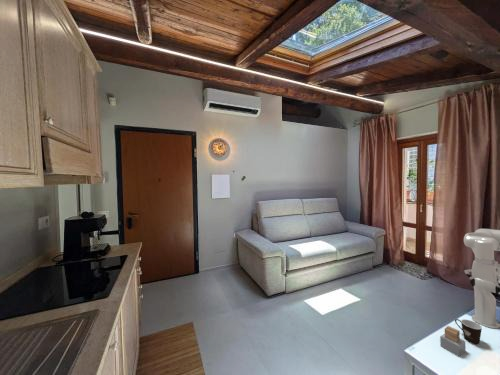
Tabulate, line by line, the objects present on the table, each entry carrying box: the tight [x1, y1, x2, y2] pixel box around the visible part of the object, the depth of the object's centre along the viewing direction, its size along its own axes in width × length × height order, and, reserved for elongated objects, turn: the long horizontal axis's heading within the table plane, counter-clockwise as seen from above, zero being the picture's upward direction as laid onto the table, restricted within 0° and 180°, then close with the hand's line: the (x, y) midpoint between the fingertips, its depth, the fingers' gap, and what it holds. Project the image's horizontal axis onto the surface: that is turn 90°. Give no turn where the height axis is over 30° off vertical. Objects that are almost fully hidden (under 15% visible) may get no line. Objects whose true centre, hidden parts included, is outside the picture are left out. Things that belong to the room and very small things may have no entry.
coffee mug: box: [454, 318, 483, 345], centre depth 125 cm, size 12×9×10 cm
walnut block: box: [444, 325, 461, 343], centre depth 119 cm, size 5×5×5 cm
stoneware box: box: [439, 333, 467, 357], centre depth 119 cm, size 8×8×6 cm
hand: (484, 289), depth 121 cm, fingers open, 9 cm apart
